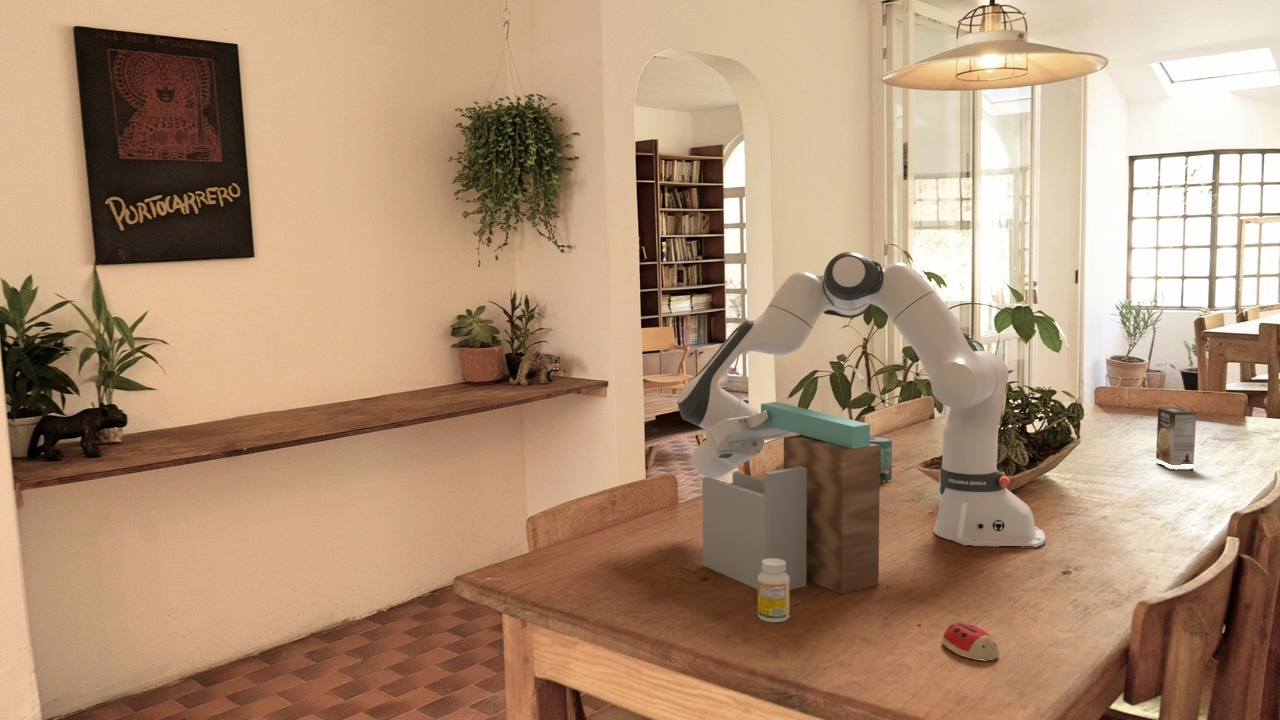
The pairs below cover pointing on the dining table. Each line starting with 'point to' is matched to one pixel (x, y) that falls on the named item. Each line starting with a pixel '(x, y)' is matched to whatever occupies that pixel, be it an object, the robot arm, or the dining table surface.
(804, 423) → the teal square bar
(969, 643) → the ladybug figurine
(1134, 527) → the dining table surface
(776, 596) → the supplement bottle
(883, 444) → the canned tomato
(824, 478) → the stand
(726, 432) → the robot arm
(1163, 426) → the coffee box
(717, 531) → the grey boxy piece
